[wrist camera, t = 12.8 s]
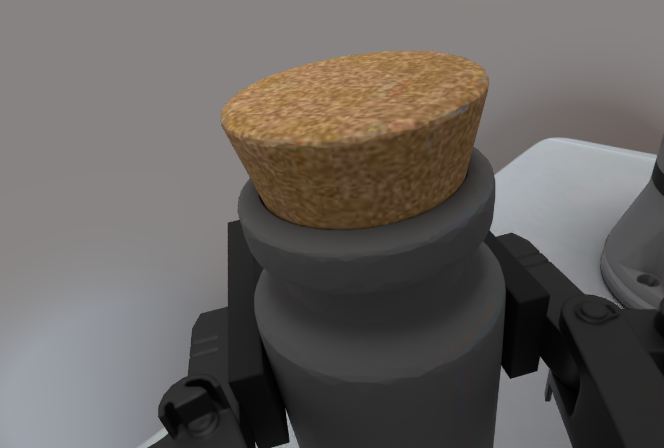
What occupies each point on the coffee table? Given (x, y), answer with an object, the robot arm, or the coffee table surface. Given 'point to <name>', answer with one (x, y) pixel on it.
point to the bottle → (374, 248)
